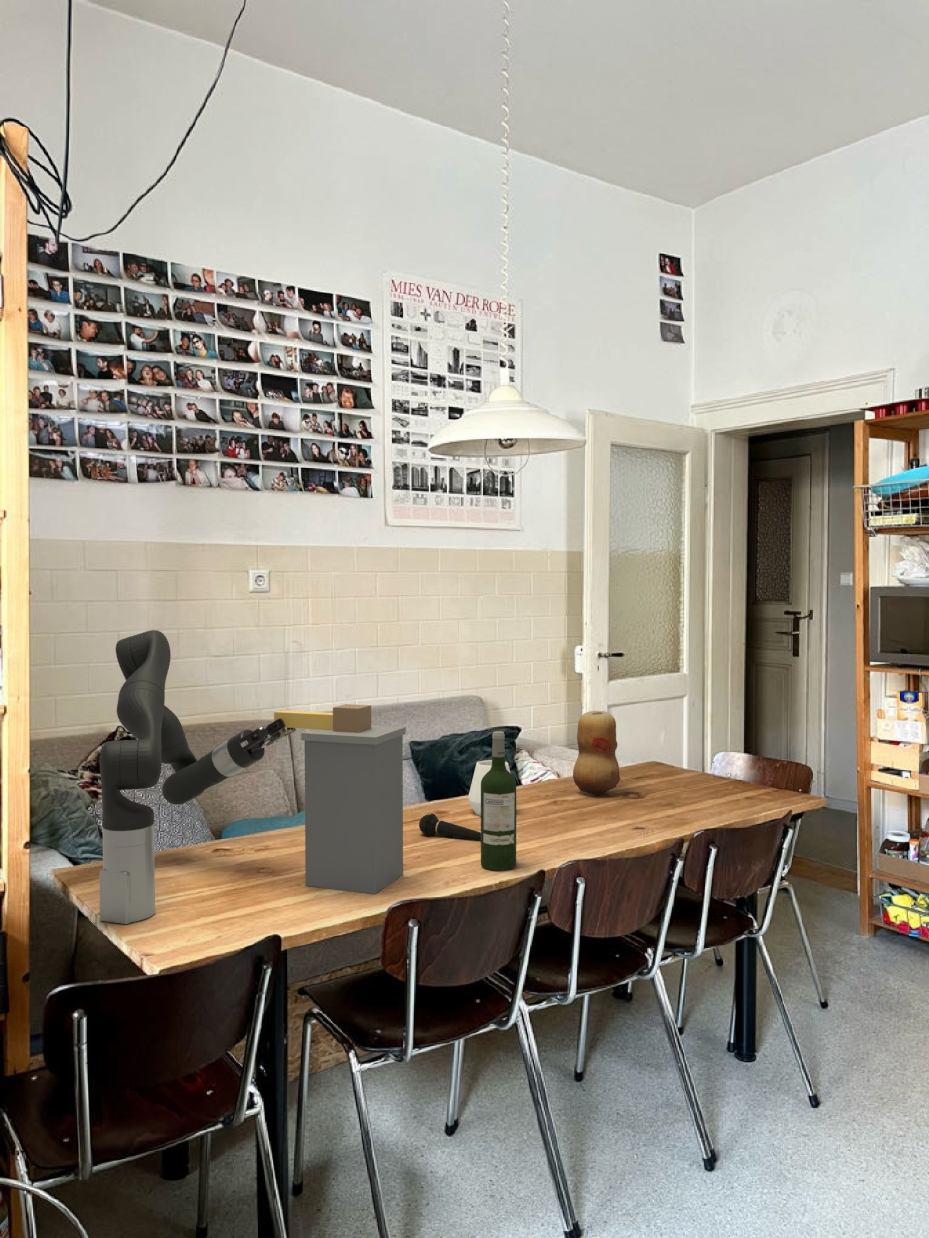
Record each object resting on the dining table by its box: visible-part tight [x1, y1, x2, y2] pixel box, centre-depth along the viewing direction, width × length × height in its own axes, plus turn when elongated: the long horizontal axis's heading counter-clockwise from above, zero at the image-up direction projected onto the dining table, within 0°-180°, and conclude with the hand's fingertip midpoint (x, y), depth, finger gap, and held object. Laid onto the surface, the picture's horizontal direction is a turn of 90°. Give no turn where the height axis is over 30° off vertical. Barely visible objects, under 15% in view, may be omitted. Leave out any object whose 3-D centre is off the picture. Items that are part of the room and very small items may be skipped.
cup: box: [467, 759, 511, 817], centre depth 261 cm, size 13×13×14 cm
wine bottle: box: [480, 730, 517, 872], centre depth 211 cm, size 8×8×30 cm
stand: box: [300, 724, 407, 895], centre depth 200 cm, size 17×15×32 cm
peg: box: [273, 703, 372, 733], centre depth 203 cm, size 21×6×5 cm, turn 70°
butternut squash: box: [572, 710, 621, 796], centre depth 284 cm, size 14×13×25 cm
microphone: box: [418, 813, 481, 842], centre depth 235 cm, size 6×6×20 cm
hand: (293, 719), depth 205 cm, fingers open, 8 cm apart
